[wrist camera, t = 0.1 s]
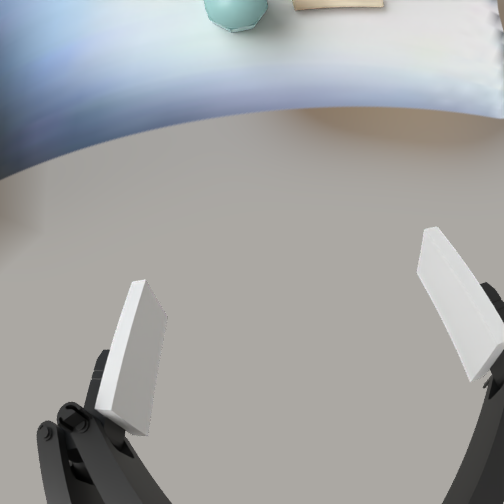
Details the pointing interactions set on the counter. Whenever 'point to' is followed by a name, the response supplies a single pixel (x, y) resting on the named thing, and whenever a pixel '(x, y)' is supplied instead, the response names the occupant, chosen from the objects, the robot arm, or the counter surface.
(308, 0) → the post block
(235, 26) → the cap
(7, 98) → the counter surface
